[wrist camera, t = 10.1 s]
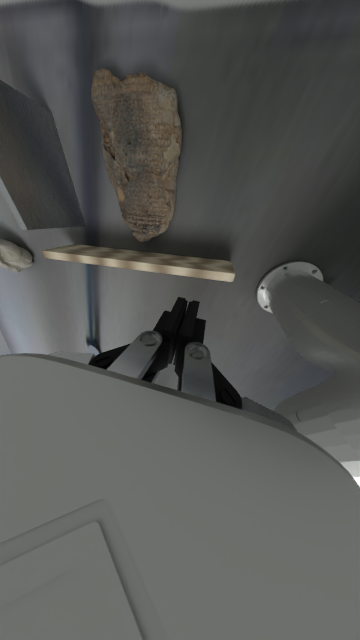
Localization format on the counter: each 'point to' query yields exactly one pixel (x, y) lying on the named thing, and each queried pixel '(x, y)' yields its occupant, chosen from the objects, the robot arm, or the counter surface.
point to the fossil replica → (14, 256)
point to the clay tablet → (140, 147)
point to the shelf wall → (145, 261)
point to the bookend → (34, 165)
